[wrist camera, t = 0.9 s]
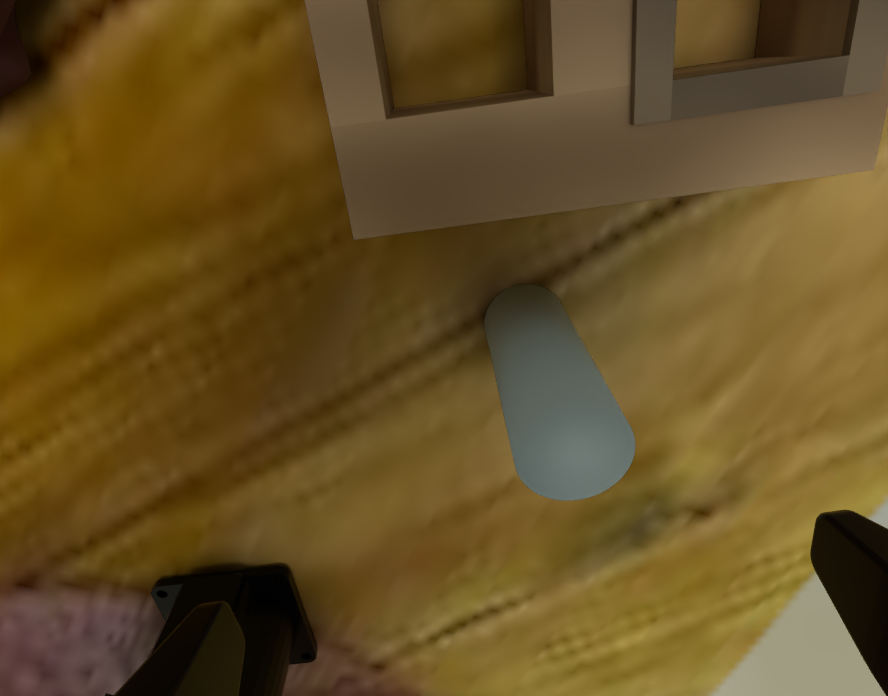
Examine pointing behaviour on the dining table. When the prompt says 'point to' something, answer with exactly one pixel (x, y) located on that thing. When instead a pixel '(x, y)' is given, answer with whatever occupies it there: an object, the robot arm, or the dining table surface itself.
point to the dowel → (554, 398)
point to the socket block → (603, 113)
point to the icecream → (11, 51)
